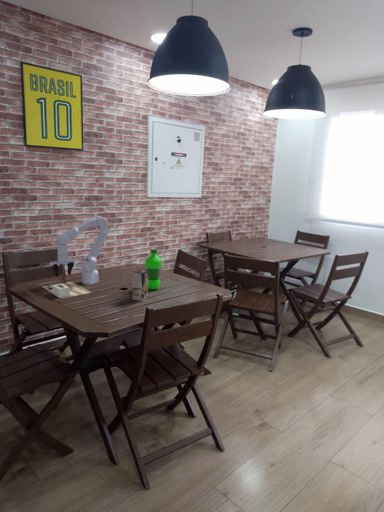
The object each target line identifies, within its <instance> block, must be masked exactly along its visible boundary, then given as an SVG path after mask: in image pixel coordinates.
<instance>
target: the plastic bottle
mask: <svg viewBox="0 0 384 512" xmlns="http://www.w3.org/2000/svg"><path fill="white" fill-rule="evenodd" d="M150 253H151V254H150V255H149V256H148V257H147V258H145V260H144V261H145V263H144V265H145V267H146V270H148V290H151V291H152V290H154V291H155V290H157V289H158V288H159V287H160V286H161V278H160V268H161V267H162V263H163V262H162V259H161V258H160V257H159V256H158V255H157V253H158V249H155V248H151V249H150Z"/></svg>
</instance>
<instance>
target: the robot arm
mask: <svg viewBox="0 0 384 512" xmlns="http://www.w3.org/2000/svg"><path fill="white" fill-rule="evenodd" d="M109 224H110V223H109V221H108V220H107V218H106V217H103V216H101V215H96V216H95V217H92V218H90V219H89V220H87V221H85V222H84V223H81V224H80V225H79V226H77V227H74V226H73V227H72V226H71V227H69V229H68V230H66V231H63V232H62V233H59V234H58V235H57V236H56V237H55V240H56V242H57V260H54V261H50V264H49V265H50V266H51V268H52V269H53V272H54V273H55V274H54V275H55V277H56V278H58V277H59V267H60V266H59V265H66V267H67V275H68V276H71V275H72V271H73V268H74V266H75V263H76V260H75V259H69V258H68V257H69V256H68V255H69V252H68V249H69V248H68V247H69V246H68V243H69V242H70V241H71V240H73V239H75V238H76V237H78V236H79V235H80V233H81V232H84V231H85V230H88V229H90V228H91V227H94V228H95V227H96V228H97V229H98V231H99V233H98V234H97V236H96V238H95V241H94V243H93V245H92V247H91V249H90V250H89V253H88V255H86V256H85V258H84V259H83V260H82V261H81V263H80V264H81V268H82V275H81V276H82V284H83V285H93V284H96V283H99V280H100V279H99V277H100V276H99V272H98V270H97V269H96V263H97V257H98V256H99V253H100V251H101V250H102V247H103V245H104V244H105V242H106V240H107V237H108V235H109Z"/></svg>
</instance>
